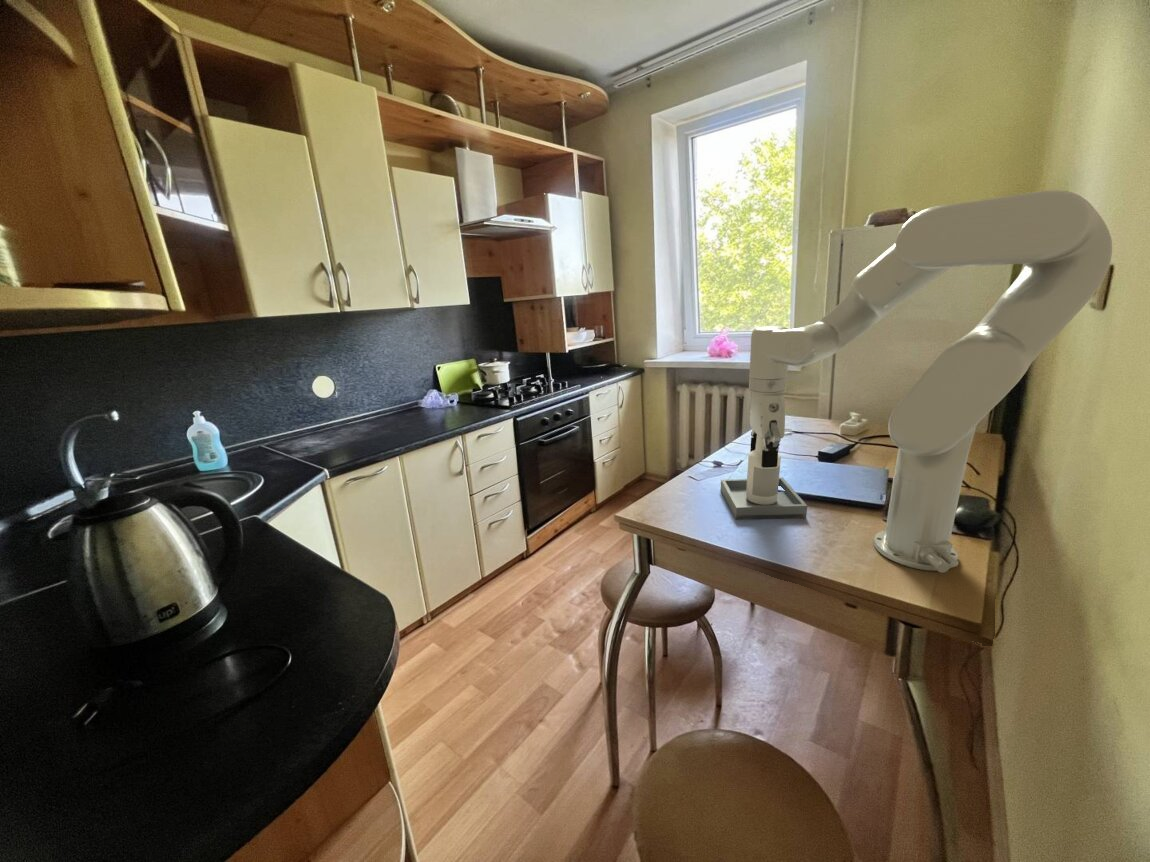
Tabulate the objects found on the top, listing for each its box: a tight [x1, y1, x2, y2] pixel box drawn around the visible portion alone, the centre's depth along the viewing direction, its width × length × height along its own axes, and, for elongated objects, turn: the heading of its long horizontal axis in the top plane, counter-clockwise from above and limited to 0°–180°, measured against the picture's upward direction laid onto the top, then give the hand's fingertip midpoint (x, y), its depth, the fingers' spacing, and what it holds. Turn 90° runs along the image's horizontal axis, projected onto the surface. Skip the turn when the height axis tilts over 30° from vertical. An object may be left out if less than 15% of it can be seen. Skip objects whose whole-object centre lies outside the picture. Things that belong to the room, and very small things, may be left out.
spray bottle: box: [746, 434, 782, 505], centre depth 103 cm, size 7×7×18 cm
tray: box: [720, 477, 808, 521], centre depth 106 cm, size 15×15×3 cm
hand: (763, 459), depth 103 cm, fingers open, 7 cm apart
